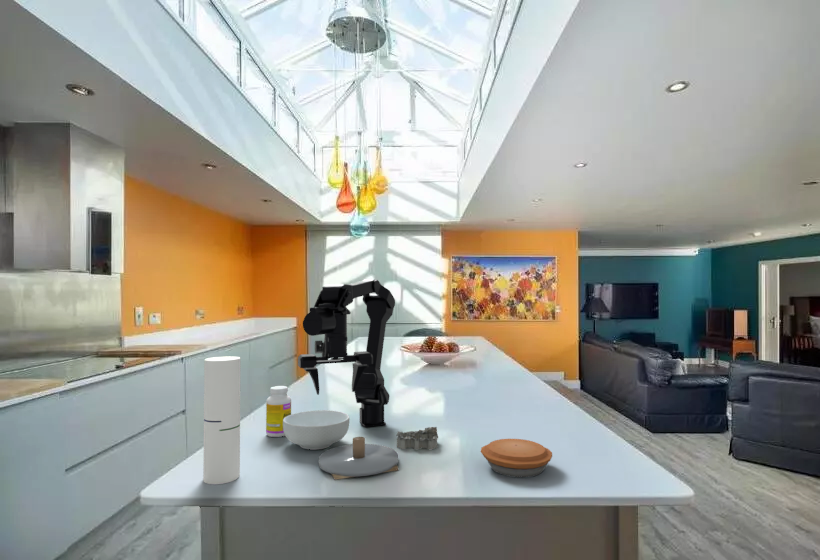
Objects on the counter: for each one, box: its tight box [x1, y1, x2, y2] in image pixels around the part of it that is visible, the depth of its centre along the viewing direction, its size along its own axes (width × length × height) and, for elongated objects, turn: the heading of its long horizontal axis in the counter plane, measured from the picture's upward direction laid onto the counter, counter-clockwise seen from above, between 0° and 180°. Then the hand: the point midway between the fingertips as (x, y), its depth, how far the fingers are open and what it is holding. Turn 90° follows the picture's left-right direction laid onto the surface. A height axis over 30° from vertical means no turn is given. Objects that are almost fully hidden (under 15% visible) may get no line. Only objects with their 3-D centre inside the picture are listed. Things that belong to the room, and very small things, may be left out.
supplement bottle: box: [265, 385, 292, 438], centre depth 128 cm, size 7×7×13 cm
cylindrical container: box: [202, 355, 241, 485], centre depth 98 cm, size 7×7×25 cm
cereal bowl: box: [283, 409, 351, 451], centre depth 119 cm, size 17×17×7 cm
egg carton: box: [396, 426, 439, 451], centre depth 118 cm, size 11×8×4 cm
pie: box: [479, 438, 553, 478], centre depth 103 cm, size 15×16×5 cm
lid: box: [318, 436, 399, 477], centre depth 106 cm, size 18×18×5 cm
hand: (335, 392), depth 120 cm, fingers open, 9 cm apart
